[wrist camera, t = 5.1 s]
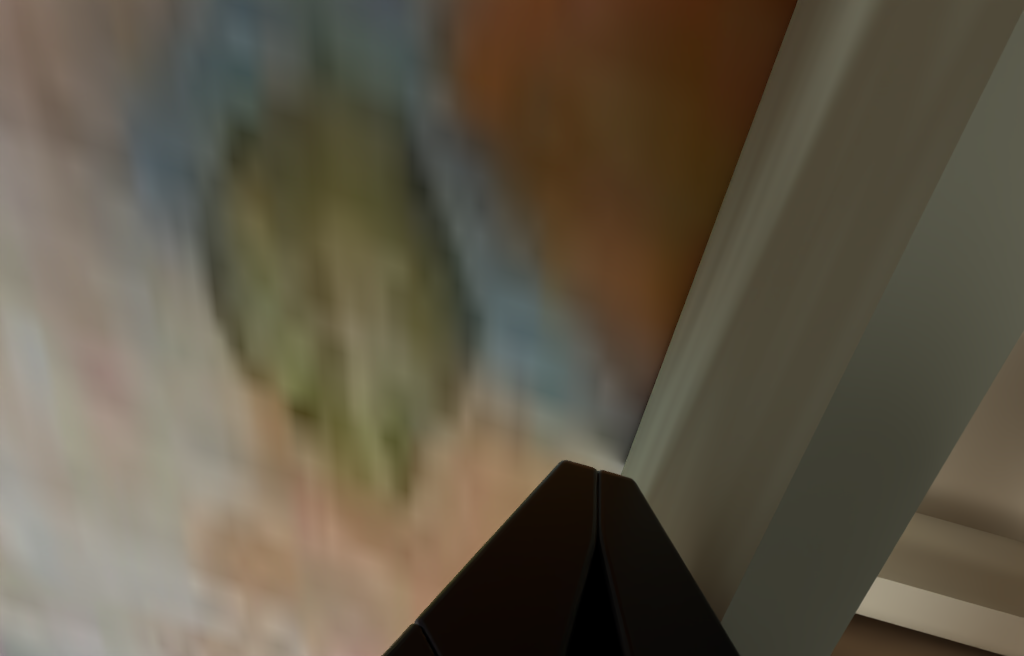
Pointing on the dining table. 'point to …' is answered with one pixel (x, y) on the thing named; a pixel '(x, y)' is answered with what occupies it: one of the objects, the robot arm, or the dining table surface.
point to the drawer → (859, 341)
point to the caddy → (897, 641)
